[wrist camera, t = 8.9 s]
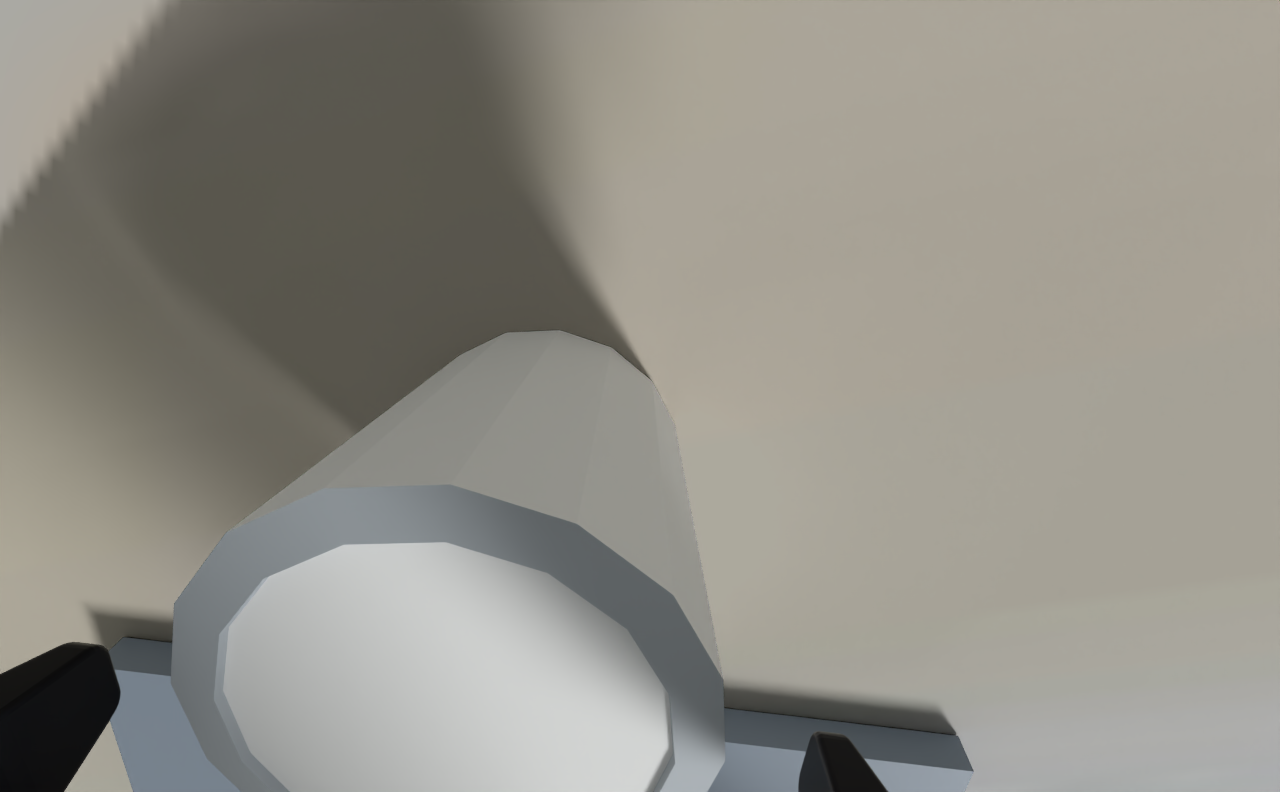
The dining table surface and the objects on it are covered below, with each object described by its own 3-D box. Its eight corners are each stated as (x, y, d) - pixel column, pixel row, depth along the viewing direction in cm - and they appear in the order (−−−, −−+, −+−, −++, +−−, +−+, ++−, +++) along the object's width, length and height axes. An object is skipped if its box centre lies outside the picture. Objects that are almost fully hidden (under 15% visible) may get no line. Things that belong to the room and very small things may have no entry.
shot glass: (734, 324, 13) (787, 539, 7) (681, 596, 16) (682, 932, 9) (389, 276, 13) (103, 444, 7) (397, 556, 16) (203, 866, 9)
